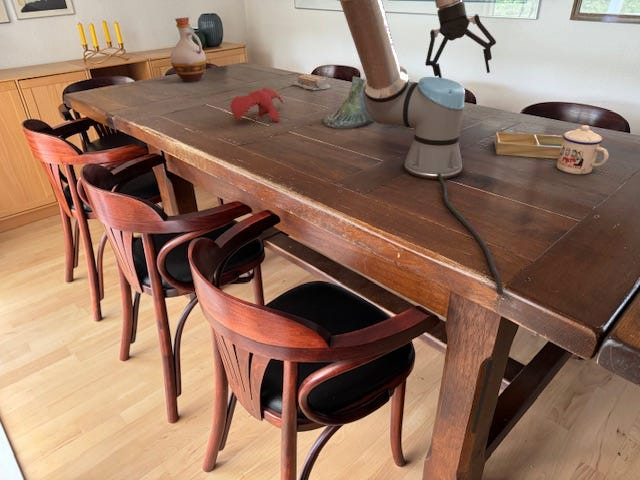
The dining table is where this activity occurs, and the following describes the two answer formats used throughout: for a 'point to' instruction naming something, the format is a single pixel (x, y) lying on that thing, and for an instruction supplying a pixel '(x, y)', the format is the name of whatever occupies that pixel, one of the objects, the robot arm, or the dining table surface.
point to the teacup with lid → (580, 151)
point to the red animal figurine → (259, 98)
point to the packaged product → (312, 82)
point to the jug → (187, 54)
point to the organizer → (528, 145)
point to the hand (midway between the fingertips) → (464, 79)
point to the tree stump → (349, 110)
